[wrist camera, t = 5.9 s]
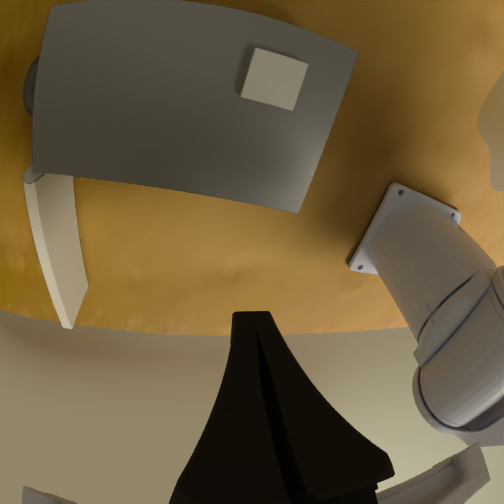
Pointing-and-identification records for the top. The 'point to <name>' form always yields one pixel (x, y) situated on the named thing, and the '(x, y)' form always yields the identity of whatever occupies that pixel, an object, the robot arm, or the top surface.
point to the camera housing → (185, 98)
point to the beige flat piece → (57, 240)
